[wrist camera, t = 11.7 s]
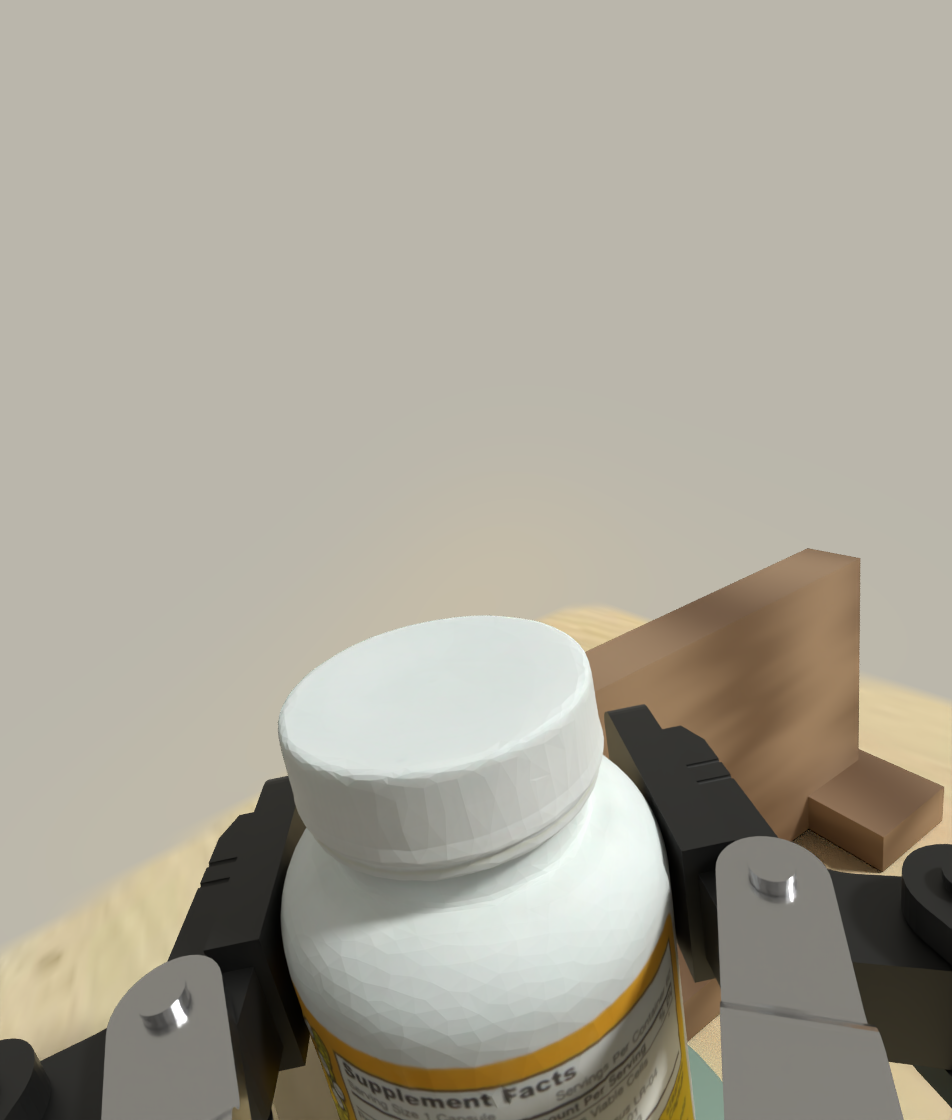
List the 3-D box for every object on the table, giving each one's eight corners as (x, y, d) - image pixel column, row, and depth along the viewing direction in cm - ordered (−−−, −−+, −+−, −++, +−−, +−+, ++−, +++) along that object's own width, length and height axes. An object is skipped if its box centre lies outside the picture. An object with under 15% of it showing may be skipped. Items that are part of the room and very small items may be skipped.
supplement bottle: (725, 1472, 8) (654, 840, 5) (331, 1363, 9) (101, 824, 6) (691, 1032, 13) (647, 583, 10) (437, 1004, 14) (333, 607, 11)
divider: (672, 1054, 14) (637, 752, 12) (523, 887, 20) (476, 651, 17) (942, 820, 19) (957, 568, 17) (764, 734, 24) (756, 532, 22)
